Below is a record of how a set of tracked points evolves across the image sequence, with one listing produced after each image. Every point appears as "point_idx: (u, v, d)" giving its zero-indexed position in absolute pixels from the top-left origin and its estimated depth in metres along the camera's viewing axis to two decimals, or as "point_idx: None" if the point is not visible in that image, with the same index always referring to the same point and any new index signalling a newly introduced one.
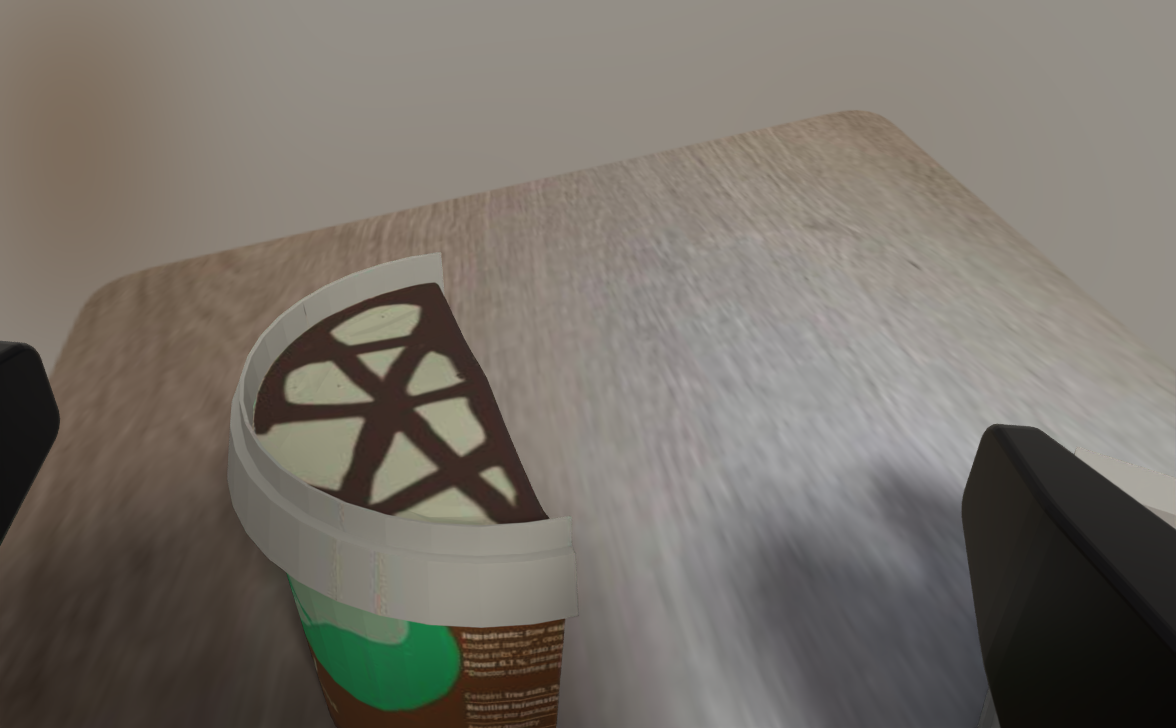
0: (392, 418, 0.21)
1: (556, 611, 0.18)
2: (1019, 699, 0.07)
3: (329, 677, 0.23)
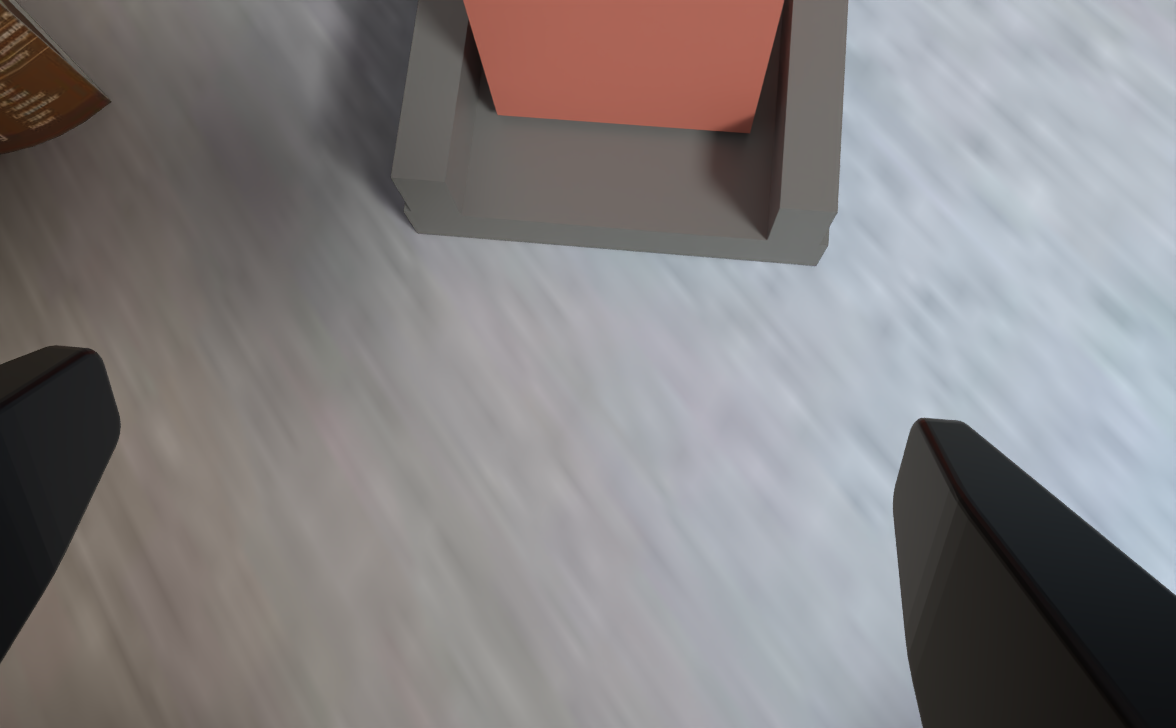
0: None
1: None
2: (937, 690, 0.07)
3: None
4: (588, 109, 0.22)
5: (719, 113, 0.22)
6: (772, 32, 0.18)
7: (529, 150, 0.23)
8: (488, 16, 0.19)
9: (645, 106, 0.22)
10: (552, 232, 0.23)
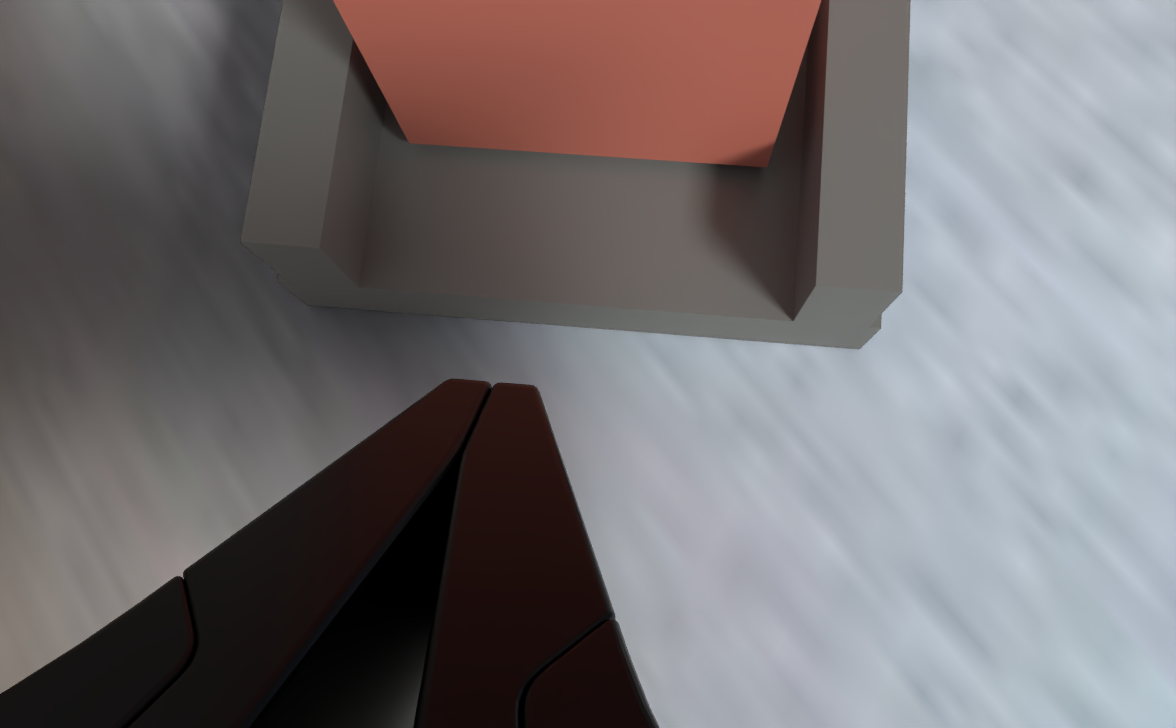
0: None
1: None
2: None
3: None
4: (535, 135, 0.15)
5: (722, 141, 0.15)
6: (808, 22, 0.12)
7: (455, 192, 0.16)
8: (364, 1, 0.12)
9: (616, 131, 0.15)
10: (490, 307, 0.16)
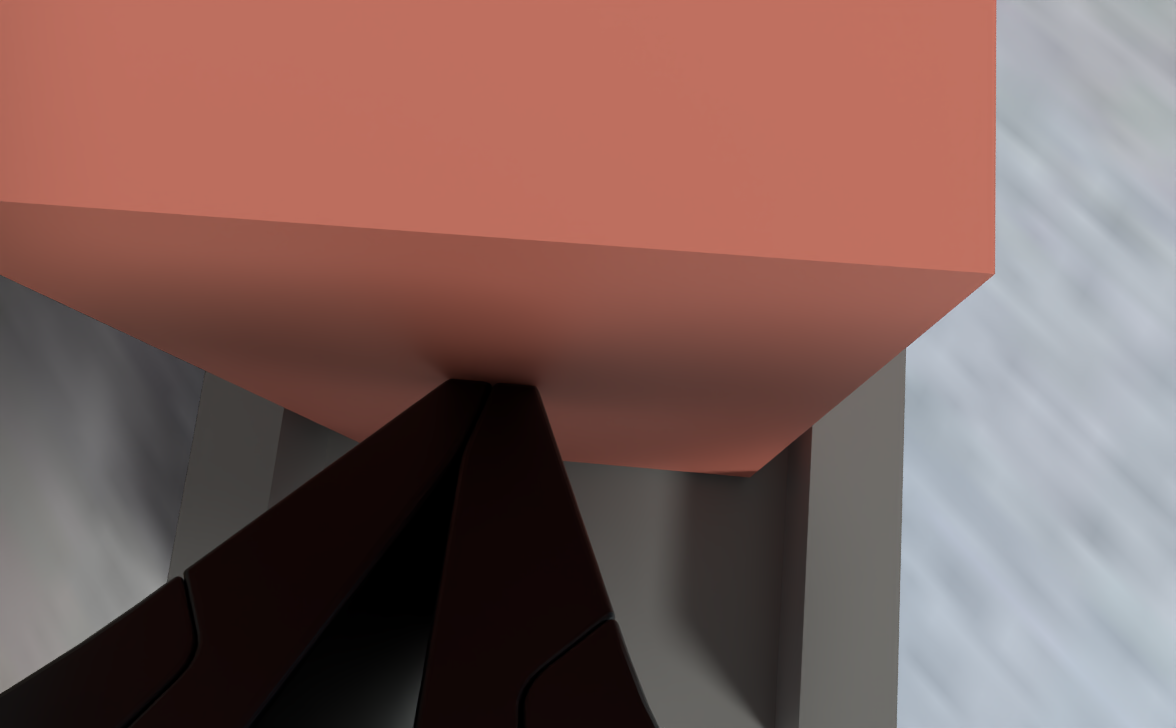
0: None
1: None
2: None
3: None
4: None
5: (700, 466, 0.14)
6: (790, 437, 0.10)
7: None
8: (289, 396, 0.11)
9: (583, 455, 0.14)
10: None
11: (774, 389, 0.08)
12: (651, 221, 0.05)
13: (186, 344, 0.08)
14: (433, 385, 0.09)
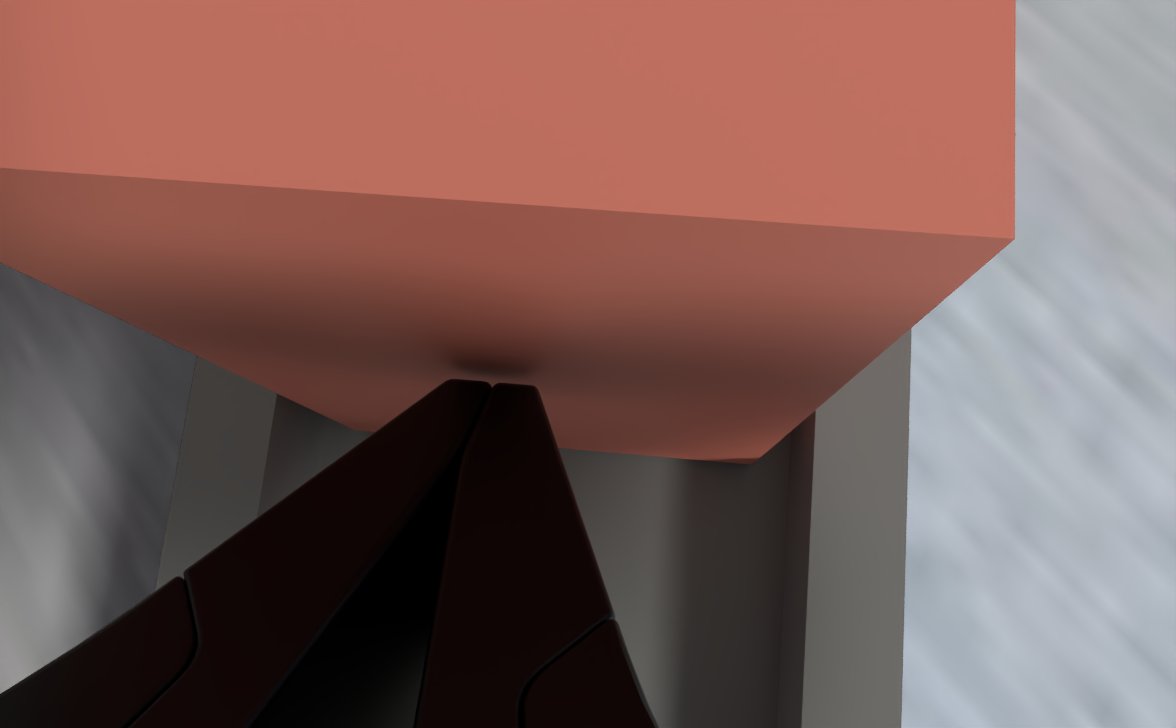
0: None
1: None
2: None
3: None
4: None
5: (701, 453, 0.13)
6: (793, 422, 0.10)
7: None
8: (280, 381, 0.10)
9: (582, 442, 0.13)
10: None
11: (778, 370, 0.07)
12: (650, 185, 0.04)
13: (171, 325, 0.08)
14: (426, 368, 0.09)
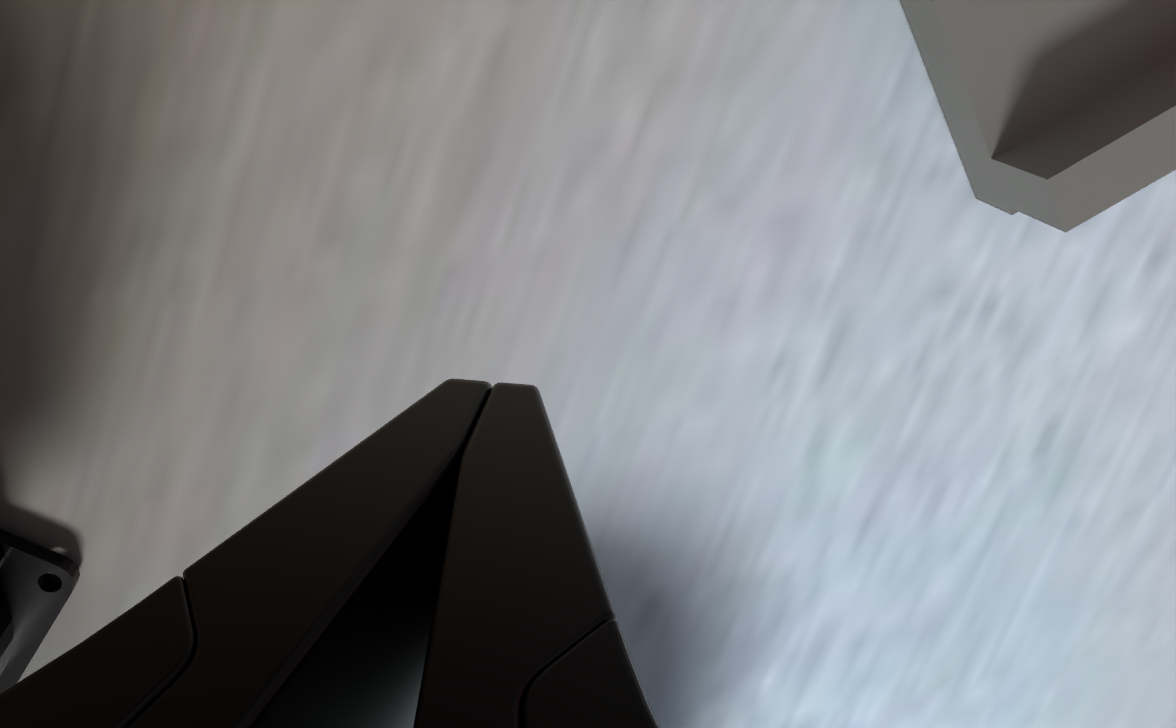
0: None
1: None
2: None
3: None
4: None
5: None
6: None
7: None
8: None
9: None
10: None
11: None
12: None
13: None
14: None
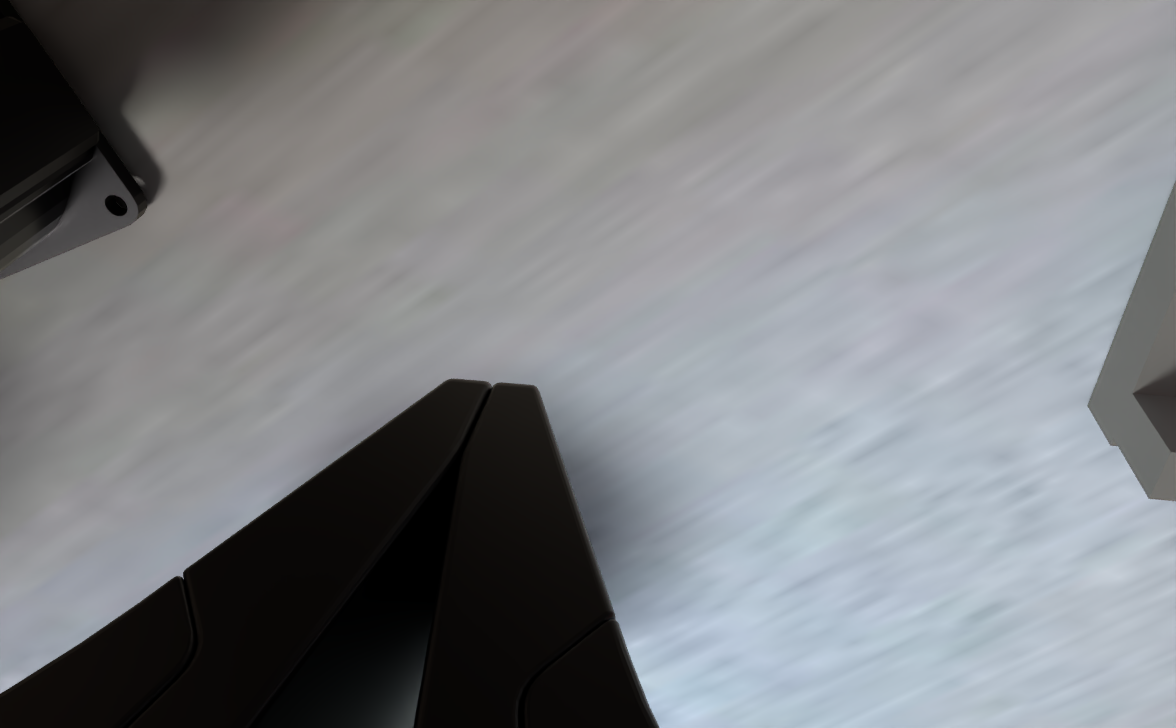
0: None
1: None
2: None
3: None
4: None
5: None
6: None
7: None
8: None
9: None
10: None
11: None
12: None
13: None
14: None
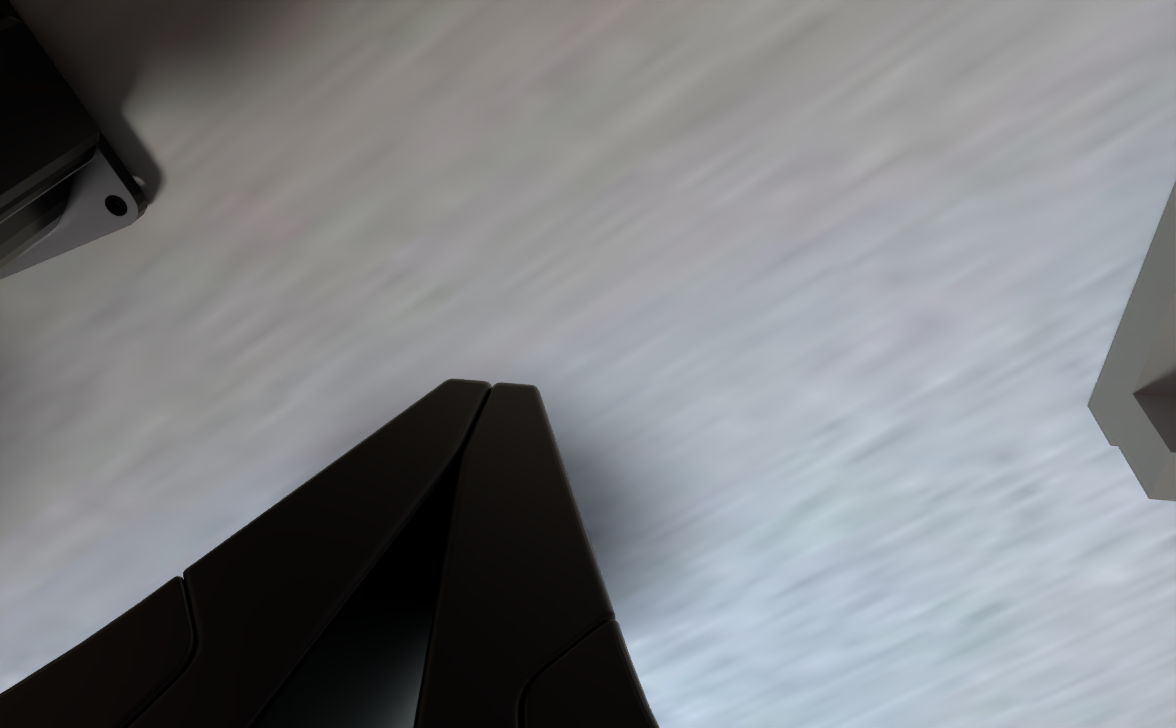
0: None
1: None
2: None
3: None
4: None
5: None
6: None
7: None
8: None
9: None
10: None
11: None
12: None
13: None
14: None
